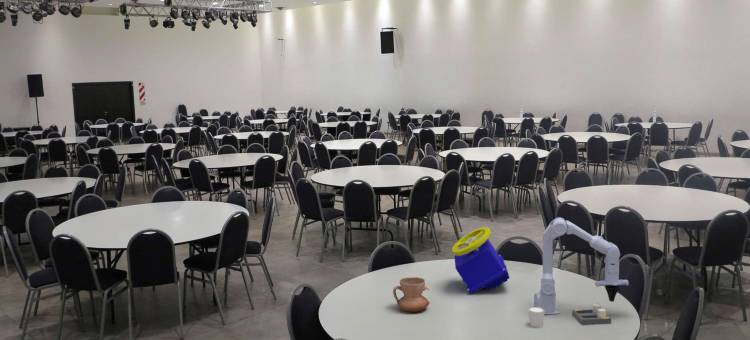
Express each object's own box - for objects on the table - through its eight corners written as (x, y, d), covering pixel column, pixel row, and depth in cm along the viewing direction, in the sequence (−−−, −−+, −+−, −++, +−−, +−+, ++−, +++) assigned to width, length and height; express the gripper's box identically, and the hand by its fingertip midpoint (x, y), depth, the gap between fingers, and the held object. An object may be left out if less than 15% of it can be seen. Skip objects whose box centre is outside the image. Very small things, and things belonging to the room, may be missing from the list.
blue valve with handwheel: (515, 265, 328) (486, 219, 324) (522, 284, 302) (490, 235, 298) (474, 288, 333) (444, 243, 329) (477, 309, 307) (445, 261, 303)
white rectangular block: (599, 319, 270) (599, 311, 269) (596, 317, 273) (597, 309, 272) (606, 319, 270) (606, 310, 270) (603, 317, 273) (603, 308, 272)
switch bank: (582, 324, 268) (582, 319, 268) (572, 315, 280) (572, 309, 279) (611, 323, 269) (611, 317, 269) (600, 313, 280) (600, 308, 280)
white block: (594, 314, 276) (594, 306, 275) (592, 312, 278) (592, 304, 278) (601, 314, 276) (601, 306, 276) (598, 312, 279) (599, 303, 278)
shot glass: (541, 321, 273) (541, 306, 272) (546, 327, 267) (546, 312, 266) (526, 322, 273) (526, 307, 272) (530, 328, 266) (530, 312, 265)
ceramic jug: (433, 304, 298) (432, 276, 296) (428, 315, 284) (427, 285, 282) (397, 303, 302) (395, 275, 301) (390, 313, 288) (389, 284, 287)
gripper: (599, 275, 271) (599, 304, 272) (632, 273, 271) (631, 303, 273) (593, 270, 278) (592, 299, 279) (624, 268, 278) (624, 297, 280)
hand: (611, 300), depth 277 cm, fingers closed
